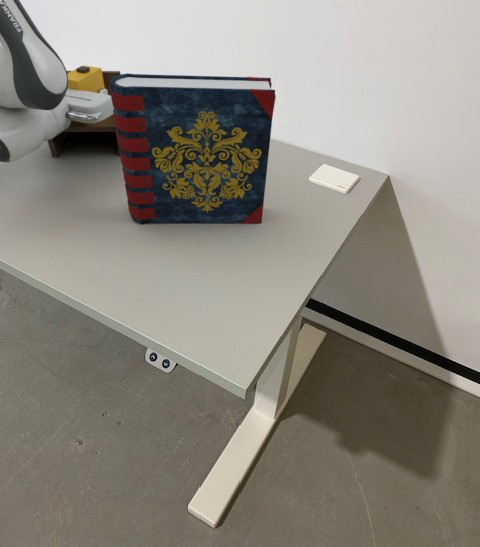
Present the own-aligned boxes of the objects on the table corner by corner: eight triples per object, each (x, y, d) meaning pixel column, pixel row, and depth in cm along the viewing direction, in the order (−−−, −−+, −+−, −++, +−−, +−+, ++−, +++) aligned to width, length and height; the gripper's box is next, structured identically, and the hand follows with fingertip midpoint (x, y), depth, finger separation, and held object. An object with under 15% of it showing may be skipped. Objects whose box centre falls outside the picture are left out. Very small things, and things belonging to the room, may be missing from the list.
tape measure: (86, 124, 92) (77, 77, 85) (68, 120, 92) (57, 74, 86) (108, 108, 98) (100, 64, 91) (91, 105, 99) (82, 61, 92)
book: (127, 225, 78) (104, 87, 60) (131, 204, 83) (111, 71, 65) (262, 225, 80) (276, 92, 63) (258, 204, 85) (271, 76, 68)
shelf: (51, 157, 94) (34, 93, 85) (62, 129, 104) (47, 70, 95) (124, 155, 96) (115, 93, 87) (128, 129, 106) (120, 70, 97)
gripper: (90, 104, 78) (126, 81, 88) (-3, 87, 82) (42, 66, 92) (96, 136, 83) (130, 110, 92) (8, 118, 86) (49, 95, 96)
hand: (85, 88), depth 92 cm, fingers open, 8 cm apart
